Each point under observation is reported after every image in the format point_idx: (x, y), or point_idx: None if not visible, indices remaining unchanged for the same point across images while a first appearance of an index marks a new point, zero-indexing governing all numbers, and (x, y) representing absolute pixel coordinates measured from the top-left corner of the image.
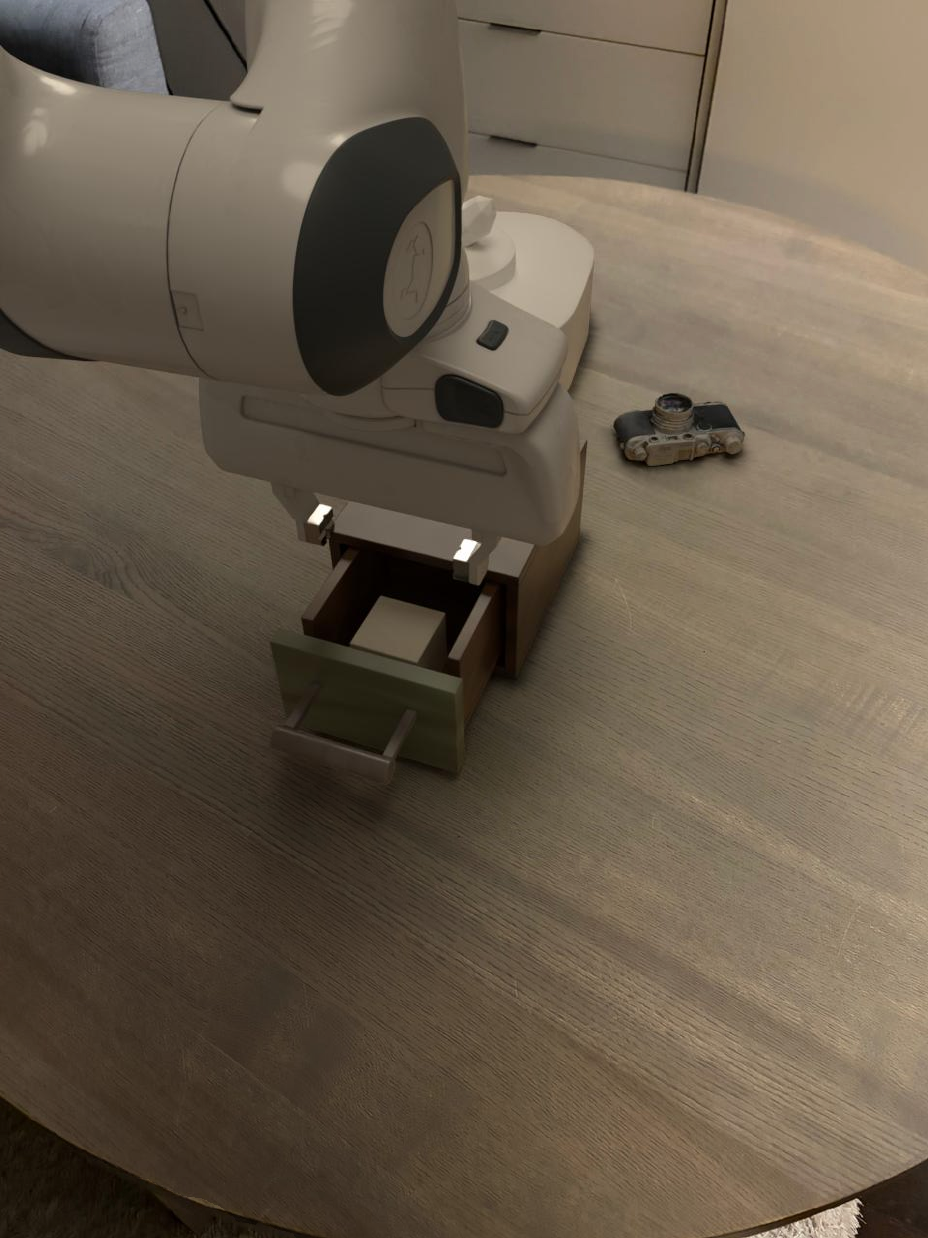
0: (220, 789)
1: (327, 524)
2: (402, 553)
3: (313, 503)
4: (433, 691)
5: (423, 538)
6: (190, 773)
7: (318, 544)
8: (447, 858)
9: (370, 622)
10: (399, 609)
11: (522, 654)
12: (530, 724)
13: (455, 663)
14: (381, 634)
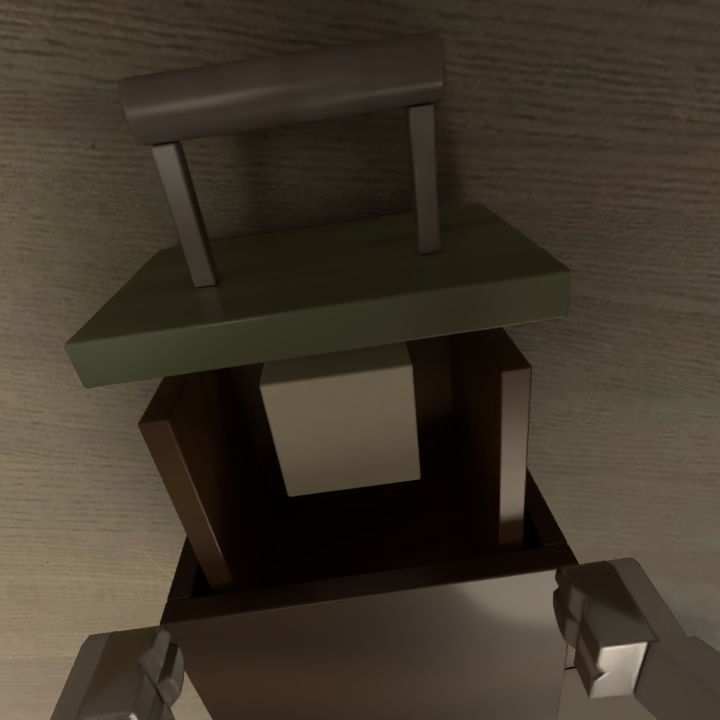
0: (526, 13)
1: (578, 633)
2: (406, 579)
3: (654, 700)
4: (123, 330)
5: (385, 621)
6: (598, 17)
7: (573, 569)
8: (75, 93)
9: (402, 423)
10: (368, 469)
11: None
12: (149, 382)
13: (150, 415)
14: (365, 410)
